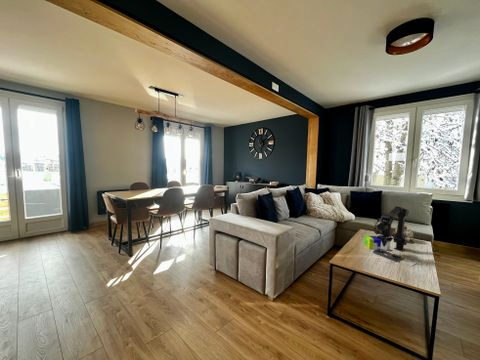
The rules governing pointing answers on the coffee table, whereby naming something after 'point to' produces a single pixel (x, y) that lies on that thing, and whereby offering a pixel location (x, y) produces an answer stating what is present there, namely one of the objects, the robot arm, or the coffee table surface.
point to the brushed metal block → (386, 246)
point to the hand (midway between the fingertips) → (385, 245)
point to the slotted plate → (388, 256)
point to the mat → (408, 262)
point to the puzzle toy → (372, 242)
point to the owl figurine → (407, 234)
